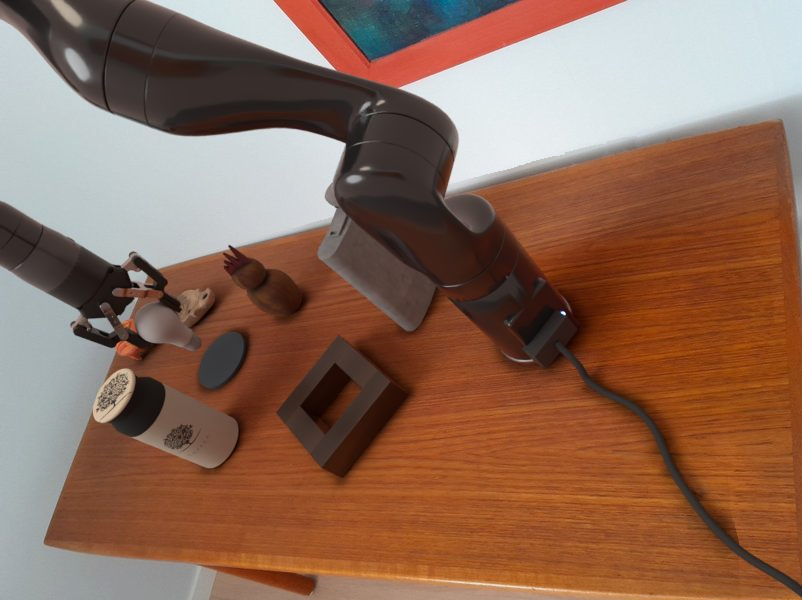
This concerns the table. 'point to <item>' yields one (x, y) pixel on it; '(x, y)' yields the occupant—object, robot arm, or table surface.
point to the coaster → (222, 360)
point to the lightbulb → (164, 327)
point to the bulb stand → (358, 420)
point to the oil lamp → (194, 305)
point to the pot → (128, 344)
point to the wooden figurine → (263, 284)
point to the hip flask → (375, 270)
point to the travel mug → (165, 418)
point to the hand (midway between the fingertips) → (164, 326)
